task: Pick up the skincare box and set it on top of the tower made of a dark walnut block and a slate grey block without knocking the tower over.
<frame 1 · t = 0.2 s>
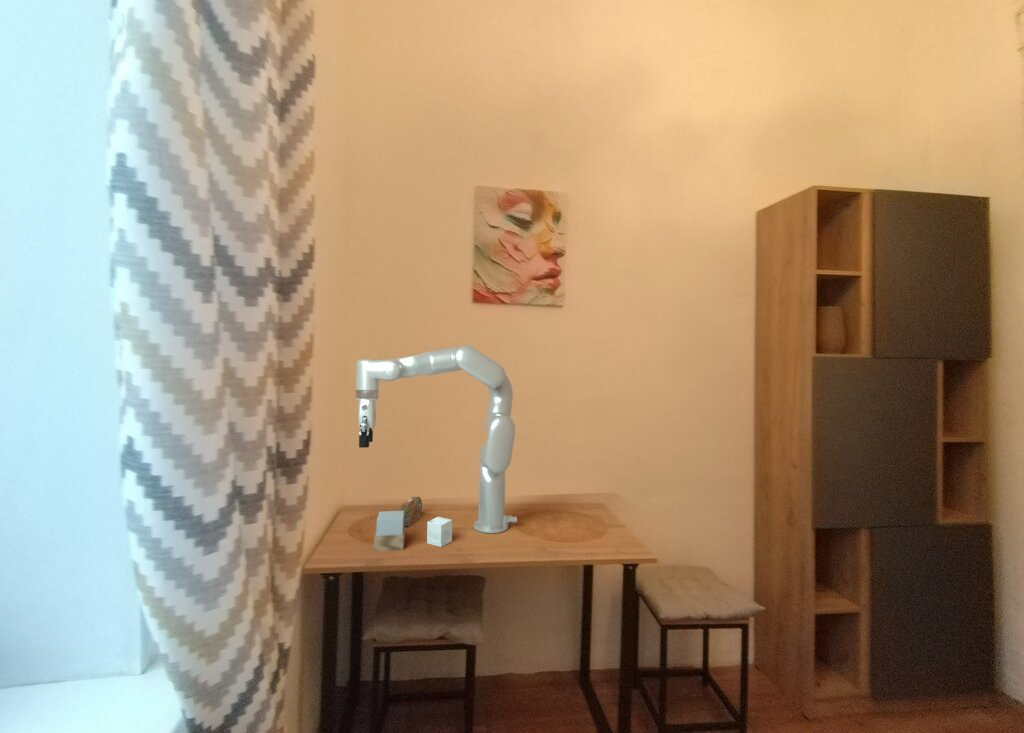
hand: (365, 444, 153), 31 cm above the table, tool pointing down, fingers open, 9 cm apart
tower top: (390, 530, 145), point 5 cm above the table
skincare box: (439, 543, 148), on the table
tin: (410, 522, 166), on the table
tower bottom: (389, 545, 145), on the table
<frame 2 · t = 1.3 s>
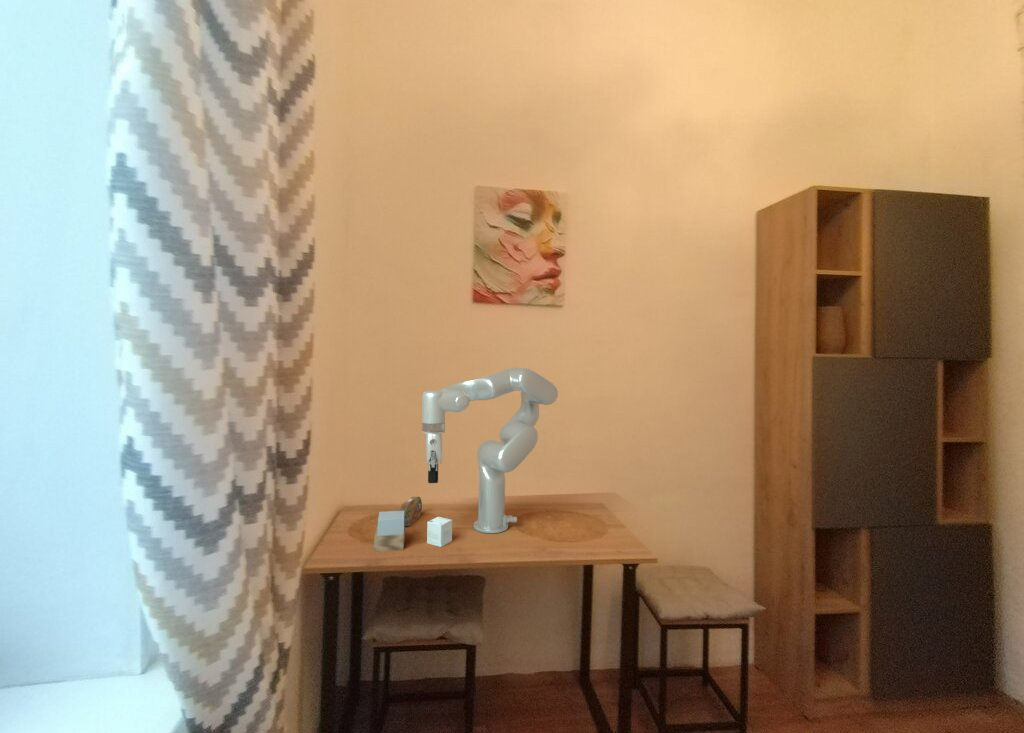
hand: (433, 478, 148), 21 cm above the table, tool pointing down, fingers open, 9 cm apart
tower top: (391, 530, 145), point 5 cm above the table, touching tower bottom
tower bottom: (389, 545, 145), on the table, touching tower top
everything else where it was.
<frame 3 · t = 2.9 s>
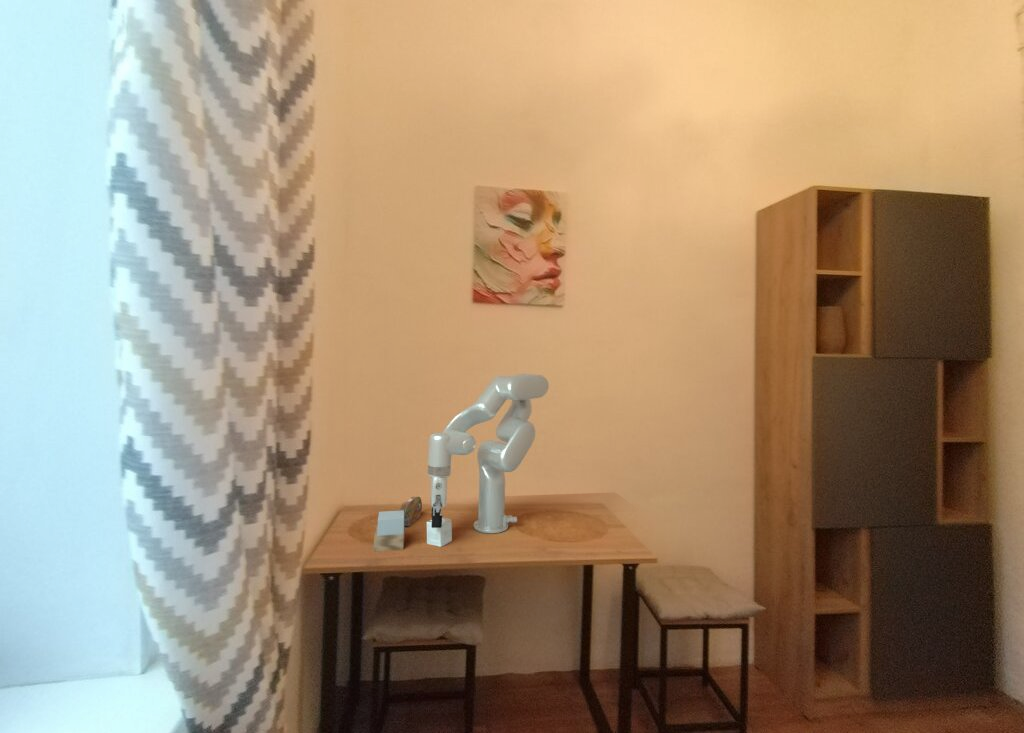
hand: (436, 522, 147), 7 cm above the table, tool pointing down, fingers open, 9 cm apart
skincare box: (439, 543, 148), on the table, touching gripper
everything else where it was.
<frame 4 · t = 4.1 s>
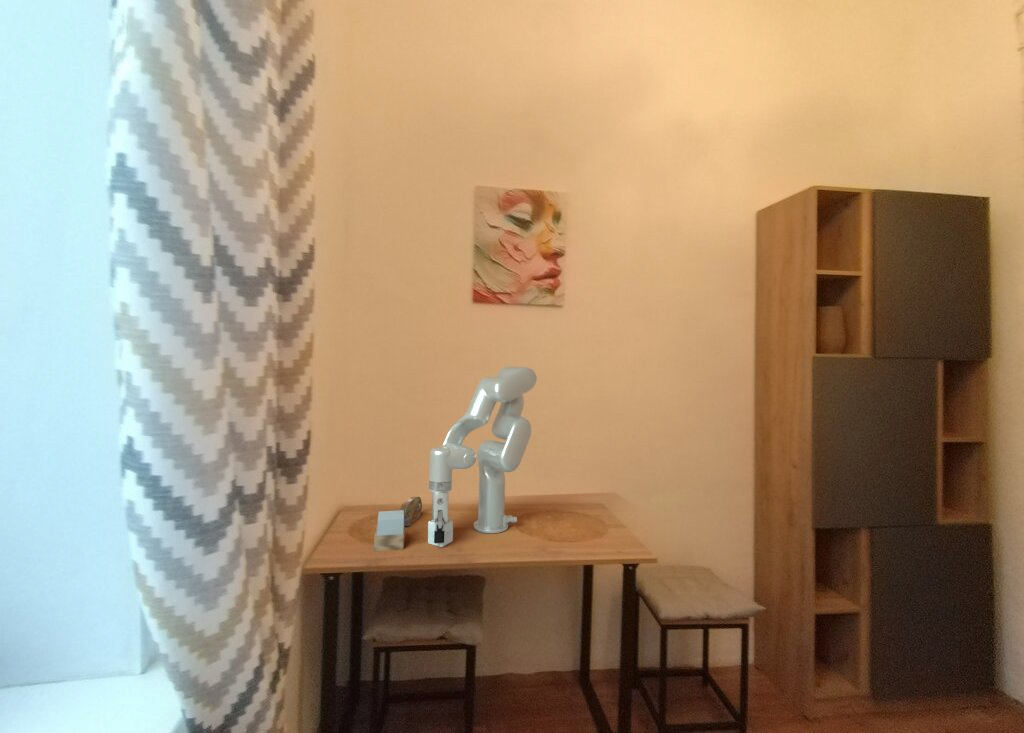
hand: (438, 537, 148), 2 cm above the table, tool pointing down, fingers closed on skincare box, 8 cm apart
skincare box: (440, 543, 148), on the table, touching gripper
everything else where it was.
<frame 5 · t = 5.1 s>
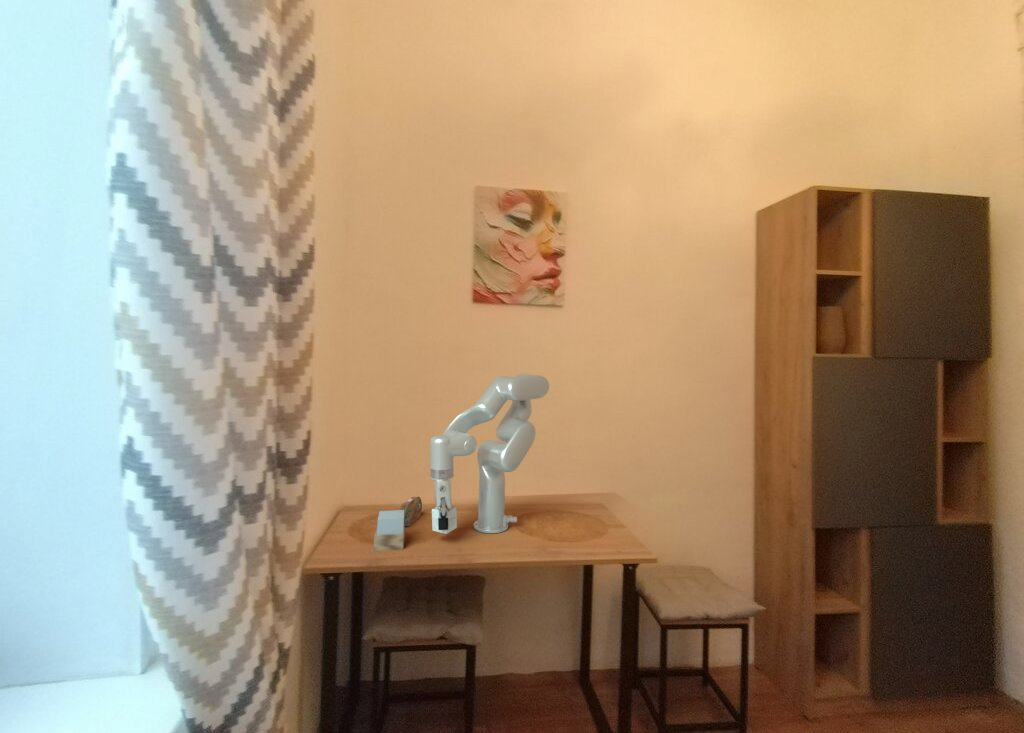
hand: (442, 523, 149), 6 cm above the table, tool pointing down, fingers closed on skincare box, 8 cm apart
skincare box: (444, 529, 149), point 4 cm above the table, touching gripper
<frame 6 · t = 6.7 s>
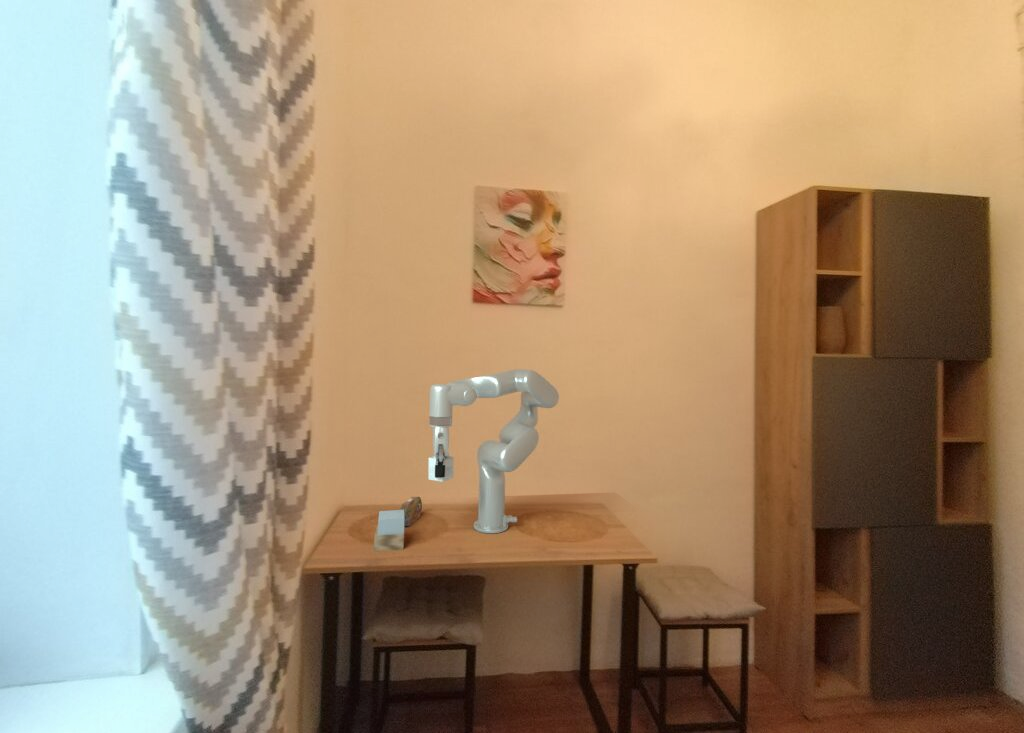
hand: (439, 473, 147), 23 cm above the table, tool pointing down, fingers closed on skincare box, 8 cm apart
tower top: (391, 529, 145), point 5 cm above the table
skincare box: (440, 479, 148), point 21 cm above the table, touching gripper
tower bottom: (389, 545, 145), on the table
everything else where it was.
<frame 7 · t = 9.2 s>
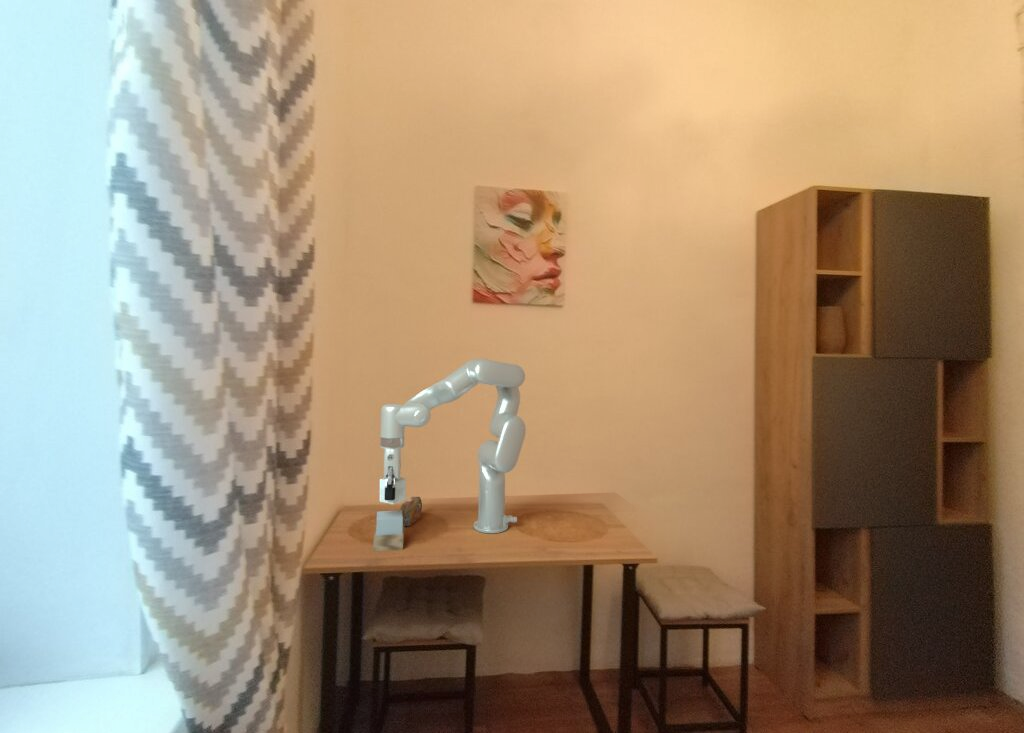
hand: (390, 495, 145), 16 cm above the table, tool pointing down, fingers closed on skincare box, 8 cm apart
tower top: (389, 530, 145), point 5 cm above the table, touching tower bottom
skincare box: (392, 501, 145), point 14 cm above the table, touching gripper
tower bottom: (389, 545, 145), on the table, touching tower top
everything else where it was.
when the fingers open (13 cm above the table, at t = 10.6 s): skincare box drops 2 cm, resting on tower top.
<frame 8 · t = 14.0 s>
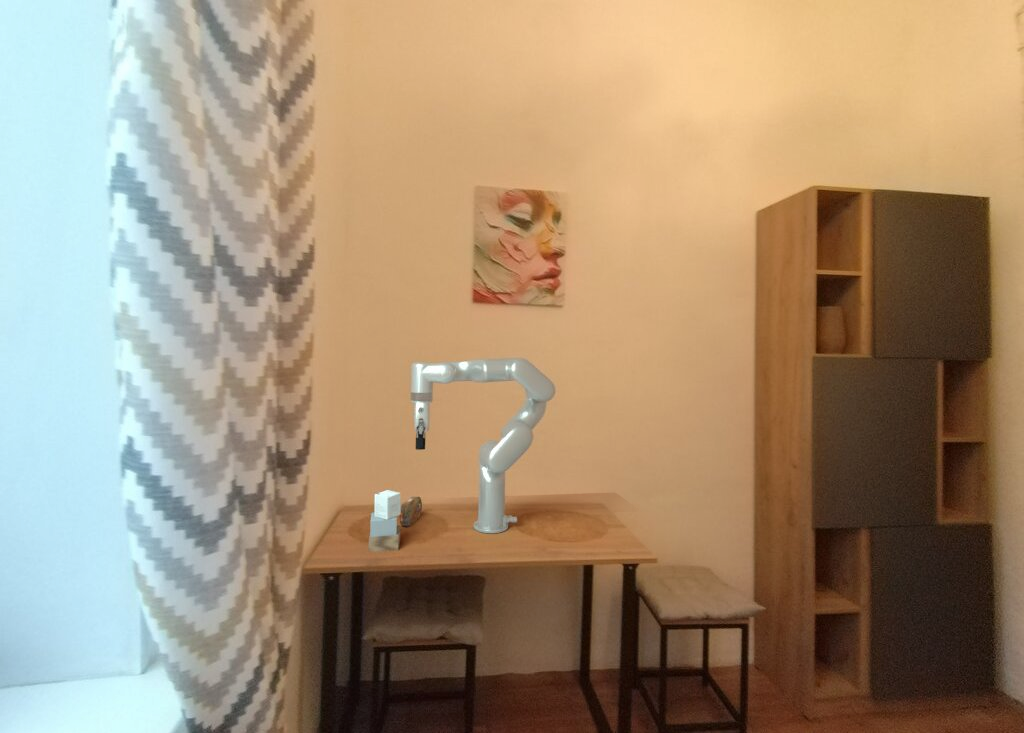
hand: (420, 446, 155), 30 cm above the table, tool pointing down, fingers open, 9 cm apart
tower top: (383, 531, 144), point 5 cm above the table, touching skincare box, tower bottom
skincare box: (387, 516, 145), point 9 cm above the table, touching tower top
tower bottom: (384, 546, 145), on the table, touching tower top
everything else where it was.
at the end: skincare box 0.5 cm off-centre on the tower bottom, point 9.8 cm above the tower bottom's base; tower top 0.6 cm off-centre on the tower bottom, point 5.0 cm above the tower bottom's base; skincare box tilted 0° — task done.
